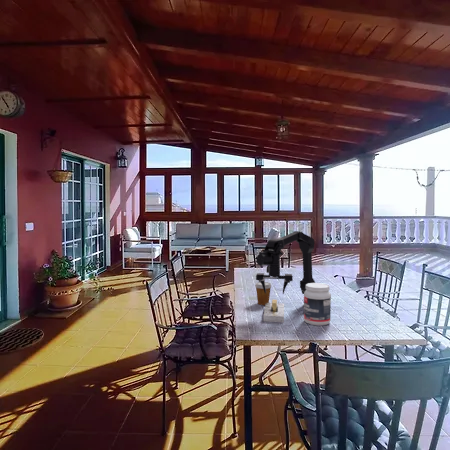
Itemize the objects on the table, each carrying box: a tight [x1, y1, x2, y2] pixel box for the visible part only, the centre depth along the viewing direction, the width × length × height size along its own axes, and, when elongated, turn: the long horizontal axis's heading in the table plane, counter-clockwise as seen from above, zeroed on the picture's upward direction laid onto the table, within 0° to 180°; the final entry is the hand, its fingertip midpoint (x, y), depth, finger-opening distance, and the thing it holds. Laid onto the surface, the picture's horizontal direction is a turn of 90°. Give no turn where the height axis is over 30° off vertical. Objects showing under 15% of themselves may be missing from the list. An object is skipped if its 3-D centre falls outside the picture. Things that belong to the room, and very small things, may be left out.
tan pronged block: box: [271, 299, 278, 312], centre depth 187 cm, size 2×7×7 cm, turn 171°
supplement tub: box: [303, 282, 332, 327], centre depth 175 cm, size 13×13×18 cm
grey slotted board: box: [263, 302, 285, 324], centre depth 187 cm, size 10×24×3 cm, turn 171°
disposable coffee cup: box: [254, 281, 272, 306], centre depth 209 cm, size 10×10×12 cm
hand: (274, 293), depth 187 cm, fingers open, 9 cm apart
